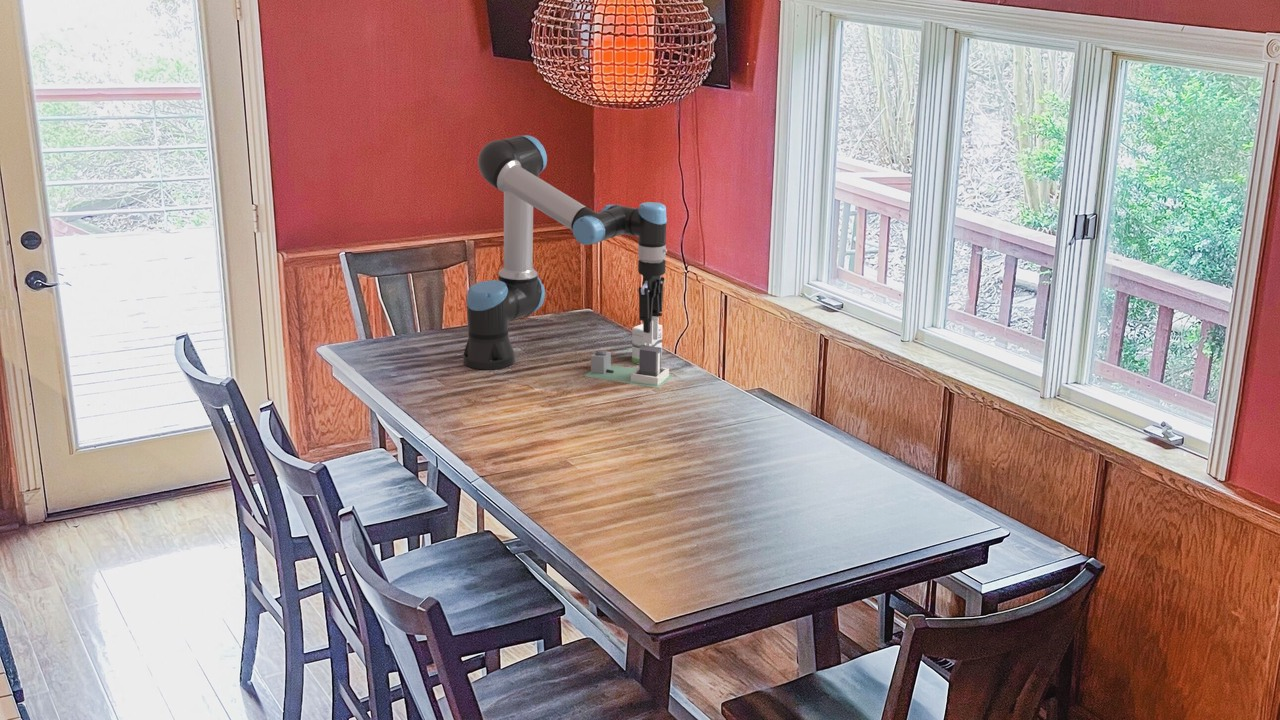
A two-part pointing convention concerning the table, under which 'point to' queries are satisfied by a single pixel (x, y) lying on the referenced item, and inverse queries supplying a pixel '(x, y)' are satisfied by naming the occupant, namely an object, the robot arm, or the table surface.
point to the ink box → (638, 342)
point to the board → (622, 376)
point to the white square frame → (650, 377)
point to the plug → (650, 361)
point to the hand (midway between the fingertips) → (650, 340)
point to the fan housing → (601, 362)
